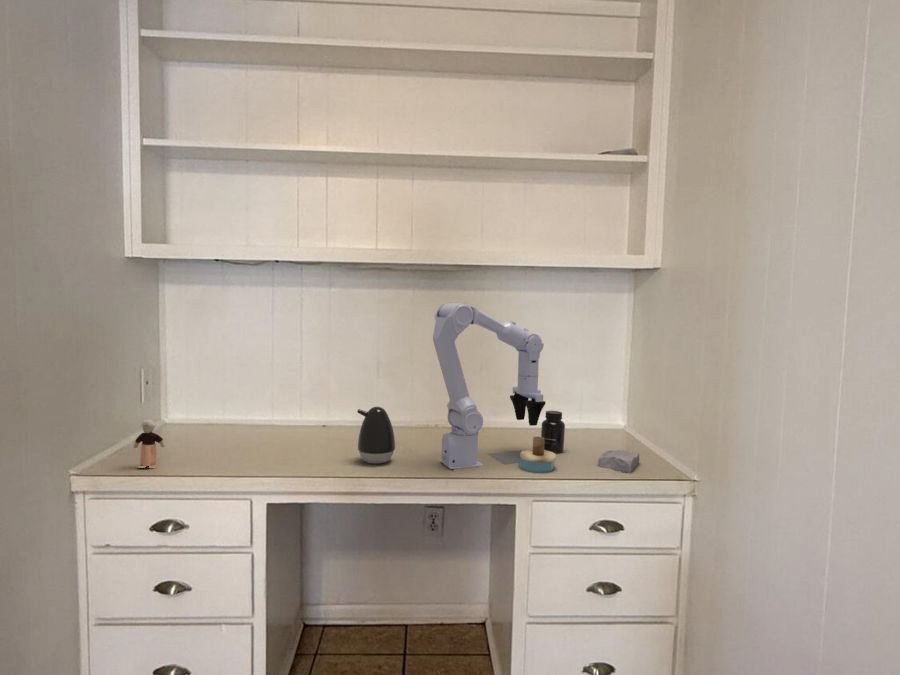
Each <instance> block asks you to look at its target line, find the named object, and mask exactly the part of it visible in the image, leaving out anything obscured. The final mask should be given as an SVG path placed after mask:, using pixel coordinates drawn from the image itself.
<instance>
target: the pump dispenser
mask: <svg viewBox="0 0 900 675" xmlns="http://www.w3.org/2000/svg"><path fill="white" fill-rule="evenodd" d="M357 413H358V414H359V415H362V416H363V417H364V419H363V420H362V423H361V425H360V430H359V433H358V440H357V450H358V453H359V456H360V457H361V459H362V460H363V461H364V462H365V463H368V464H372V465H380V464H381V463H382V464H384V463H386V462H388V461H390V459H392V458H393V455H394V451H395V450H396V439H395V432H394V427H393V424H392V422H391V419H390V417H389V414H388V413H387V411H386V410H385V409H384V408H383V407H381V406H373V407H371V408H370V409H368V411H366V410H362V409H357Z"/></svg>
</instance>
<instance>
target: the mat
mask: <svg viewBox="0 0 900 675" xmlns="http://www.w3.org/2000/svg"><path fill="white" fill-rule="evenodd" d="M522 451H523V450H515V451H514V450H513V451H505V452H504V451H503V452H495V453H494V452H492V453H487V455H488V456H490V457H491V458H493V459H495V460H497V461H498V462H500V463H502V464H503V465H510V464H511V465H512V464H514V465H515V464H520V453H521V452H522Z"/></svg>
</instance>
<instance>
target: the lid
mask: <svg viewBox="0 0 900 675" xmlns="http://www.w3.org/2000/svg"><path fill="white" fill-rule="evenodd" d="M544 439H545V438H543V437H541V436H533V437H532V449H526V450H521V451H522V452H521V453H520V457H521V458H522V459H524V460H527V461H532V462H551V461H554V462H555V461H556V460H557V454H555V453H553V452H550V451H546V450H544Z"/></svg>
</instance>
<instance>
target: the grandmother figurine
mask: <svg viewBox="0 0 900 675" xmlns="http://www.w3.org/2000/svg"><path fill="white" fill-rule="evenodd" d="M141 426H142V431H143V432H142V433H140V434H139V435H138V436H137V437H136V439H135V442H134V444H133V446H132V447H133V448H134V449H137V448H138V447H139V445H140V443H141V442H142V443H141V445H140V459H139V460H140V461H139V465H138V466H155V465H157V445H156V443H158V444H159V445H160V447H161V448H165V446H166V444H165V442H164V438H162V437H161V435H159V434H157V433H154V432H153V431H154V429H155V428H157V425H156V423H155V421H153V420H152V419H151V418H149V419H144V420H143V421H142V422H141Z"/></svg>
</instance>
